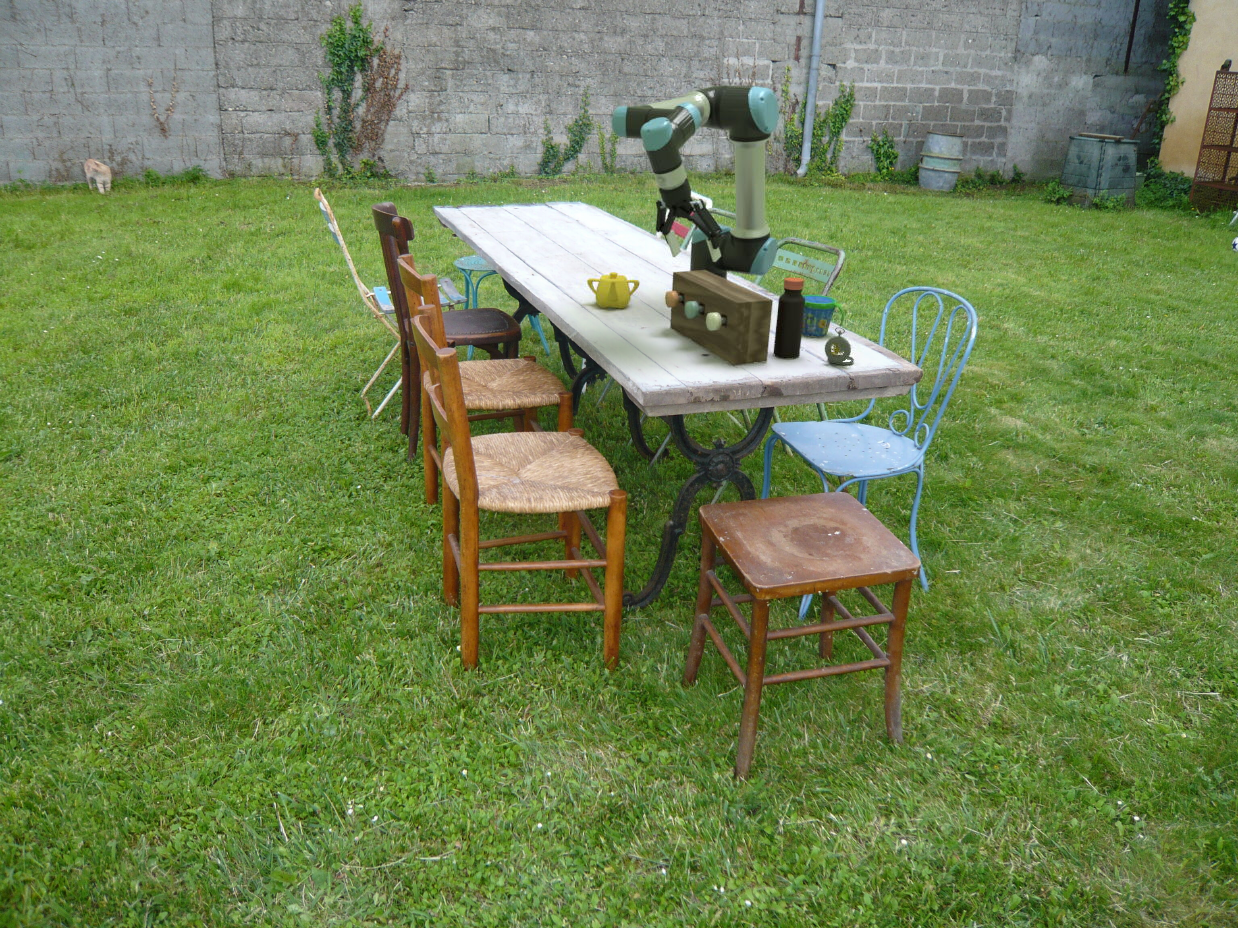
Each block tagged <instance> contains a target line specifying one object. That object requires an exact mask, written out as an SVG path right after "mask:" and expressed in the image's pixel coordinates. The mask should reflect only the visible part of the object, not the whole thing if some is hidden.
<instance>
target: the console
mask: <svg viewBox="0 0 1238 928" xmlns="http://www.w3.org/2000/svg"><path fill="white" fill-rule="evenodd" d="M671 286H672V288H671V291H676V292H677V294H678V296H681V295H684V301H680V302H678V306H677V307H670V308H671V309H670V326H669V329H671V330H673V331H674V332H676V333H678V334H679V335H681V336H683V338H684V337H685V338H686V339H688V340H689V339H690V341H691V342H693V343H695V344H697V345H698V346H699V347H701V348H702V349H704V350H706V351H708V352H710V353H711V354H713V355H715V356H716V357H717V358H720V359H721V360H722V361H725V362H726V363H728V364H730V365H732V366H738V365H739V366H741V365H747V364H755V363H754V362H758V363H764V362H763V361H767V362H768V354H769V352H768V351H769V343H770V331H771V325H772V324H771V323H772V313H773V302H774V300H773V299H772V298H769V297H767V296H765V295H763V294H760V293H758V292H755V291H754V290H751V289H748V288H747V287H744V286H742V285H741V284H737V283H735V282H733V281H730V280H728V279H727V280H726V279H724V278H722V277H720V276H717V275H715V274H713V273H711V272H708V271H706V270H697V271H690V270H686V271H684V270H683V271H673V272H672V285H671ZM690 301H696V302H697V303H698V306H705V312H699V315H698V317H697V318H690V319H688V318H687V317H686V315H685V304H686V302H690ZM715 312H717V313H719V314H720V316H721V318H723V317H727V324H721V327H720V329H719V330H712V331H710V330H709V329H708V328H707V325H706V317H707V314H708V313H715Z"/></svg>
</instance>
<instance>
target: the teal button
mask: <svg viewBox="0 0 1238 928" xmlns="http://www.w3.org/2000/svg"><path fill="white" fill-rule="evenodd" d="M699 312H705V306H698V303H697V302H696V301H690V302H686V304H685V315H686V317H687V318H688V319H690V318H697V317H698V315H699Z"/></svg>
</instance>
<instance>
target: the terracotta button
mask: <svg viewBox="0 0 1238 928" xmlns="http://www.w3.org/2000/svg"><path fill="white" fill-rule="evenodd" d="M664 301H665V305H666V307H667V308H671V307H677V306H678V302H680V301H684V295H681V296H678V294H677V292H676V291H672V290H668V291H666V292H665V295H664Z"/></svg>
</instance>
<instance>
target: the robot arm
mask: <svg viewBox="0 0 1238 928" xmlns="http://www.w3.org/2000/svg"><path fill="white" fill-rule="evenodd" d="M776 96H777V95H776V94H775V93H774V91H773V90H771V89H770V88H768V87H761V86H757V85H755V86H752V85H751V86H750V85H749V86H748V85H727V84H726V85H713V86H710V87H709V86H708V87H703V88H701V89H696V90H692V91H689V92H687V93H685V95H683V96H682V97H677V98H673V99H666V100H663V101H657V102H653V103H648V104H645V105H644V104H643V105H637V106H631V105H626V106H625V105H624V106H623V105H621V106H618V107H616V108H615V110H614V111H613V113H612V117H611V128H612V131H613V133H614V135H615V136H617V137H619V138H626V139H638V140H642V145H643V148H644V150H645V152H646V155H647V158H648V161H649V163H650V167H651V169H652V170H651V171H652V172H653V176H654V178H655V182H656V184H657V187H658V190H659V194H660V198H659V199H658V200H657V201H656V202H655V205H656V209H657V211H656V224H655V231H656V233H661V234H662V235H663V236H664V240H665V241H666V244H667V245H668V247H669V249H670V252H671V255H672V258H676V257H677V256H678V255H679V254H680V253H681V252H682V251H681V247H680V245H679V242H678V238H677V236H676V232H675V230H674V229H673V225H674V223H675V220H676V218H677V219H680V218H681V219H687V220H688V221H689V222H692V223H693V224H694V225H695V226H696V227H697V228H696V229H694V230H693V232H692V235H691V242H690V243H691V244H690V262H689V263H690V265H689V266H690V267H689V268H690V269H689V271H697V270H706V271H708V272H711V273H713V274H715V275H717V276H720V277H722V278H724V279H726V280H728V272H732V273H739V274H743V275H750V276H761V277H762V276H766V274H768V272H770V270H771V268H772V267H773V265H774V263H775V260H776V256H777V252H778V241H777V239H776V238H775V237H773V236H771V229H770V227H769V226H768V225H767V224H766V143H767V142H768V141H769V140H770V139H771V134H772V133H774V132H775V131H776V129H777V127H778V124H779V123H778V120H779V119H780V117H779V116H780V109H779V107H780V106H779V103H778V99H777V97H776ZM699 128H707V129H715V130H722V131H728V137H729V138H728V139H729V141H730V142H731V143H732V144H733V145H734V175H735V176H734V178H735V179H734V181H735V182H734V183H735V187H734V188H735V192H734V193H735V225H734V227H733V228H732V229H731V227H730V226H729V225H719V224H718V222H717V221H716V219H715V218H714V217H713V215H712V214H711V212H710V211H709V210H708V208H707V207H706V204H705V202H704V200H703V199H702V198H699V199H697V200H695V201H694V199H693V198H692V197H691V196H692V188H691V185H690V181H689V179H688V177H687V176H688V175H687V172H686V169H685V166H684V162H683V160H682V157H681V154H680V150H681V148H682V147H683V146H684V145H685V144H686V143H687V142H688V141H689V140H690V138H692V137H693V136H694V135H695V134H696V131H697V130H698V129H699ZM667 209H668V210H669V211H668V213H667Z"/></svg>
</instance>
